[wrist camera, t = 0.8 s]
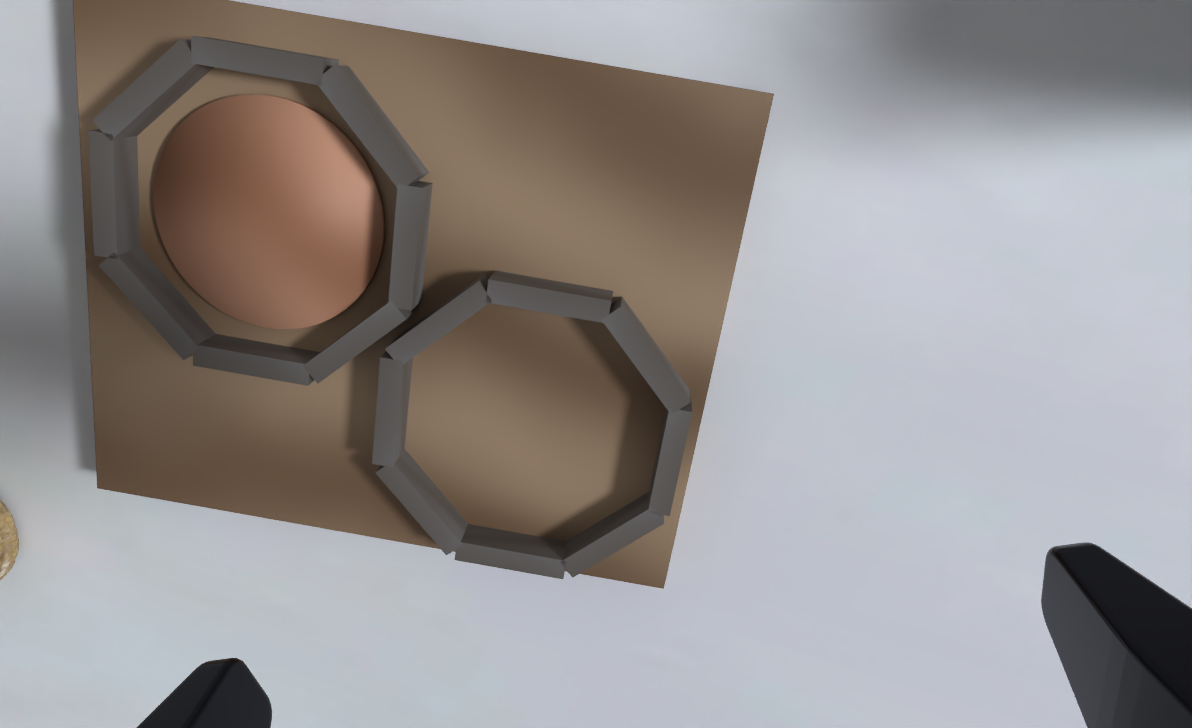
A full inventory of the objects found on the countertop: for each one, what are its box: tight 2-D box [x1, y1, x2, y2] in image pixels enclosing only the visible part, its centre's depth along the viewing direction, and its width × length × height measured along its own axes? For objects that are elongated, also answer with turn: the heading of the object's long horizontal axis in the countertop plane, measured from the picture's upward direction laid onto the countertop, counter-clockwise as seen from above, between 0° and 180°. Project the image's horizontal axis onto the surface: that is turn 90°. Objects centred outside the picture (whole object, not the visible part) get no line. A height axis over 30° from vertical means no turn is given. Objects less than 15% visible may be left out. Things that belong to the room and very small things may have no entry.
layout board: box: [73, 0, 774, 589], centre depth 22 cm, size 14×17×2 cm
